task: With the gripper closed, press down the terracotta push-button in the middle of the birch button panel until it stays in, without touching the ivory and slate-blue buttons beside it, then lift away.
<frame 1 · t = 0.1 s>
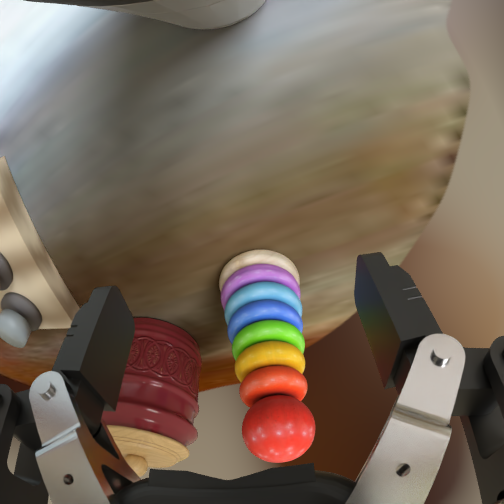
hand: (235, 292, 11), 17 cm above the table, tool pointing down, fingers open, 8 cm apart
slate button: (12, 328, 29), point 6 cm above the table, slide at 0.0 cm
stacking toy: (258, 276, 33), on the table
canister: (153, 346, 40), on the table
button panel: (3, 252, 30), on the table
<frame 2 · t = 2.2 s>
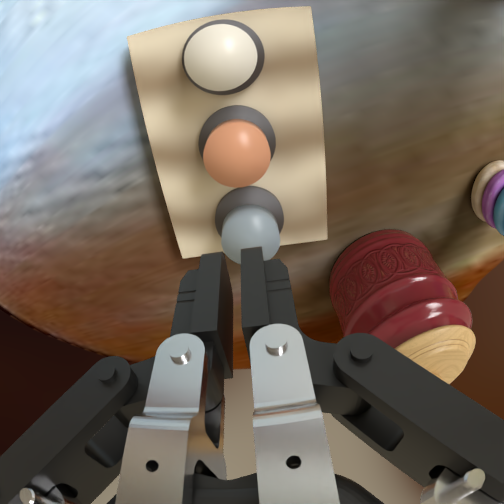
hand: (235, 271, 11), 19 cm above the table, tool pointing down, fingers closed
slate button: (250, 235, 26), point 6 cm above the table, slide at 0.0 cm
stacking toy: (490, 187, 30), on the table
canister: (378, 272, 37), on the table
terracotta button: (236, 152, 22), point 6 cm above the table, slide at 0.0 cm
button panel: (237, 133, 27), on the table
ivory button: (221, 57, 18), point 6 cm above the table, slide at 0.0 cm
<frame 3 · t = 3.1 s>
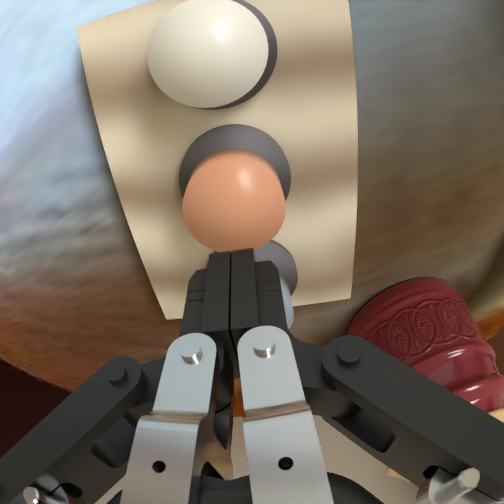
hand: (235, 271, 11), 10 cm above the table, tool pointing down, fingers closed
slate button: (252, 307, 19), point 6 cm above the table, slide at 0.0 cm
canister: (402, 322, 30), on the table
terracotta button: (234, 201, 15), point 6 cm above the table, slide at 0.0 cm
button panel: (235, 161, 20), on the table
ivory button: (208, 51, 11), point 6 cm above the table, slide at 0.0 cm
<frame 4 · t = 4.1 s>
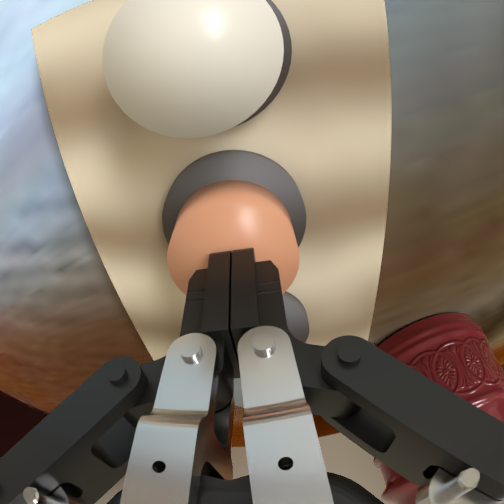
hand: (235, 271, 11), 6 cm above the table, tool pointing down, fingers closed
slate button: (256, 370, 16), point 6 cm above the table, slide at 0.0 cm
canister: (418, 356, 26), on the table
terracotta button: (233, 248, 12), point 5 cm above the table, slide at 0.7 cm, touching gripper
button panel: (234, 191, 16), on the table
ivory button: (194, 52, 8), point 6 cm above the table, slide at 0.0 cm
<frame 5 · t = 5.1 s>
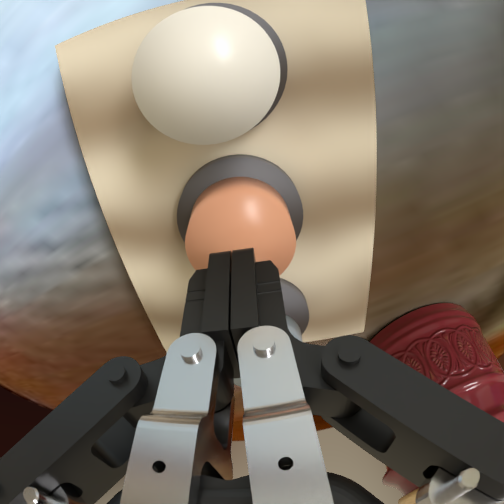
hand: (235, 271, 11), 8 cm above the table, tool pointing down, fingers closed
slate button: (262, 352, 17), point 6 cm above the table, slide at 0.0 cm
canister: (414, 346, 28), on the table
terracotta button: (240, 234, 14), point 5 cm above the table, slide at 1.1 cm
button panel: (239, 192, 18), on the table
ivory button: (206, 73, 10), point 6 cm above the table, slide at 0.0 cm
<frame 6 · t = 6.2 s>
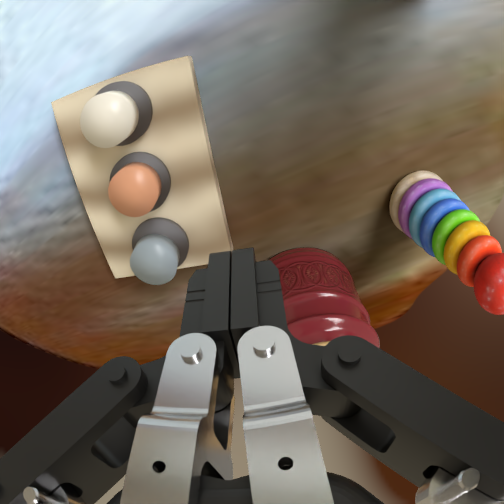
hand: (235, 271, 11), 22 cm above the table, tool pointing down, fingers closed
slate button: (154, 259, 31), point 6 cm above the table, slide at 0.0 cm
stacking toy: (415, 199, 34), on the table
canister: (299, 287, 41), on the table
terracotta button: (135, 189, 28), point 5 cm above the table, slide at 1.1 cm
button panel: (147, 172, 32), on the table
ivory button: (109, 118, 23), point 6 cm above the table, slide at 0.0 cm
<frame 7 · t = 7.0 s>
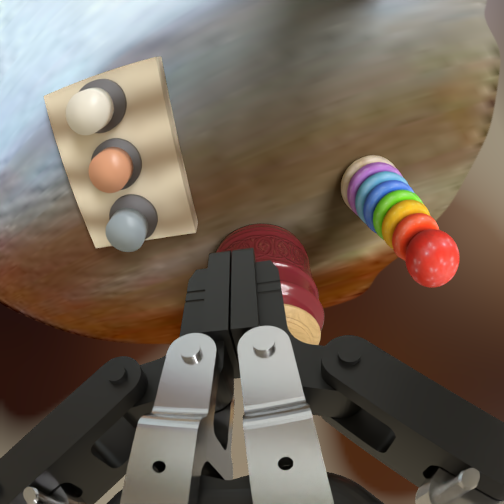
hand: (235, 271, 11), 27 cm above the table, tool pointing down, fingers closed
slate button: (126, 230, 35), point 6 cm above the table, slide at 0.0 cm
stacking toy: (368, 182, 39), on the table
canister: (260, 261, 45), on the table
terracotta button: (110, 169, 32), point 5 cm above the table, slide at 1.1 cm
button panel: (123, 156, 35), on the table
ivory button: (89, 111, 27), point 6 cm above the table, slide at 0.0 cm
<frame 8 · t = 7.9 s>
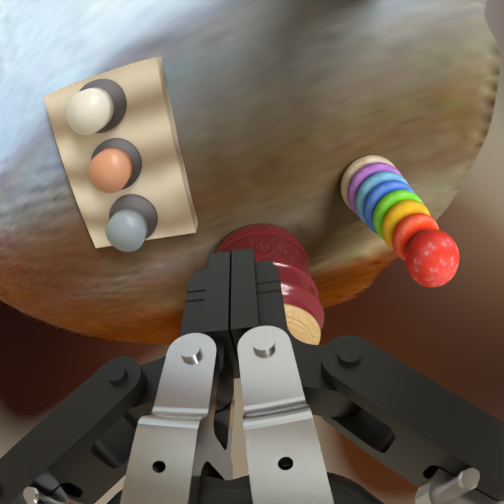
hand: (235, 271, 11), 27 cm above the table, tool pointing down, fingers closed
slate button: (126, 229, 35), point 6 cm above the table, slide at 0.0 cm
stacking toy: (368, 182, 39), on the table
canister: (260, 261, 45), on the table
terracotta button: (110, 169, 32), point 5 cm above the table, slide at 1.1 cm
button panel: (123, 156, 35), on the table
ivory button: (89, 110, 27), point 6 cm above the table, slide at 0.0 cm
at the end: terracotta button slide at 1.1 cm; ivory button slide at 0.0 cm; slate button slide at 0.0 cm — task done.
